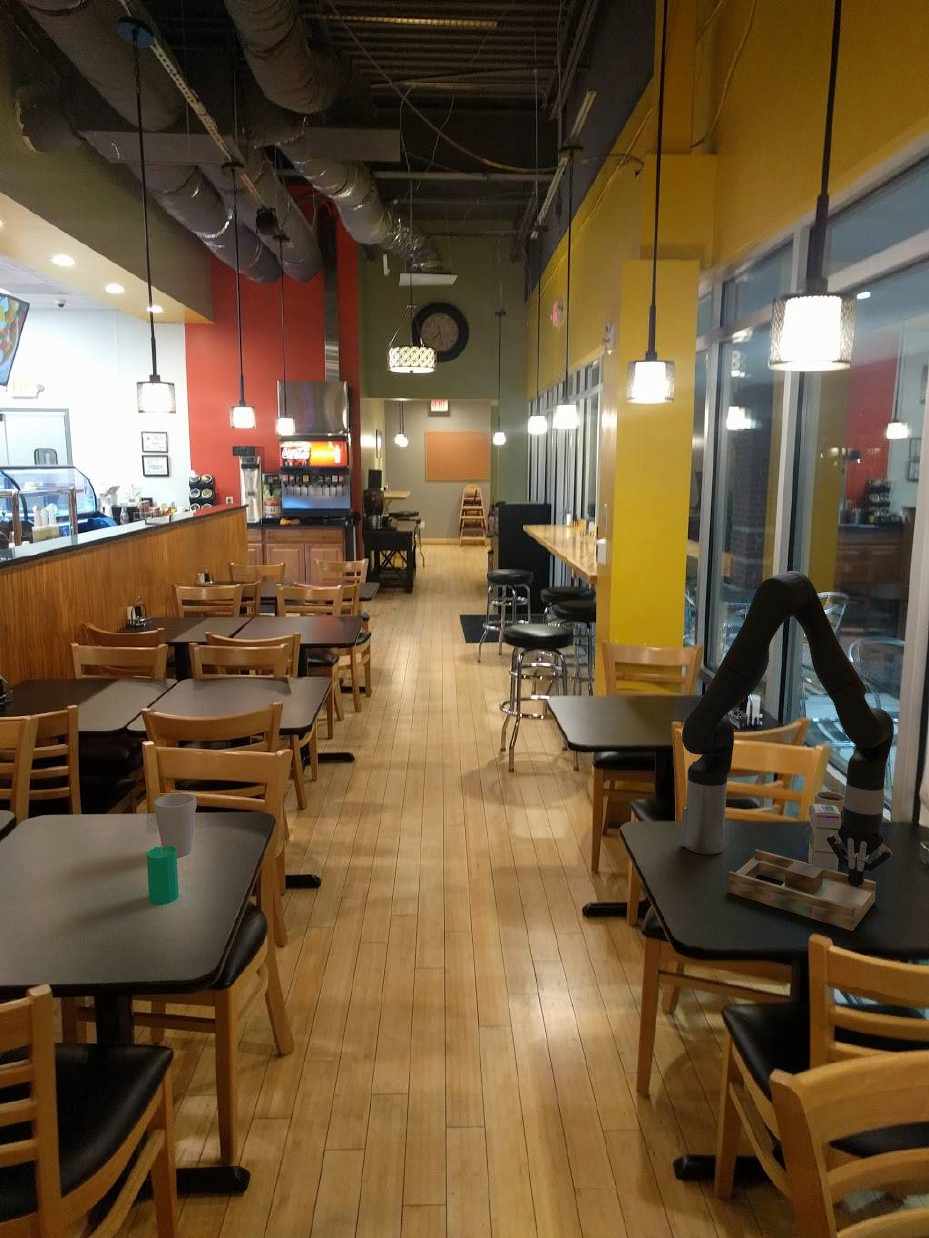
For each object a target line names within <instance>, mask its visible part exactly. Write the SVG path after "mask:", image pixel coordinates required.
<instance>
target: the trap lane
mask: <svg viewBox="0 0 929 1238" xmlns="http://www.w3.org/2000/svg"><path fill="white" fill-rule="evenodd" d="M753 853H754V855H753V857H752V858H751V859H750V860H749V861H747V862H746V863H745V864H744V865H743V866H742V867H740V868H739V869H738V870H736V872H735V871H731V870H729V871H728V877H727V889H726V890H727V891H726V893H729V894H732V895H735V896H739V897H742V898H745V899H749V900H752V901H754V902H758V903H762V904H765V905H768V906H771V907H774V908H777V909H780V910H783V911H787V912H789V913H794V914H796V915H800V916H802V917H806V918H808V919H813V920H816V921H820V922H823V923H825V924H829V925H830V926H831V925H833V926H835V927H839V928H842V929H845V930H847V931H851V932H853V931H854V930H855V929H856V927H857V926H858V924H859V923H860V922H861V920H863V918H864V916H865V915H866V914H867V913H868V911H869V910H870V909H871V907H872V906H873V905H874V903H875V902H876V901H875V900H876V892H877V891H876V890H877V881H874V880H871V879H866V878H864V882H863V884H862V885H860V886H859V887H855V886H851V883H850V882H848V873H844V872H841V871H834V870H830V869H827V868H823V867H819V866H816V865H812V864H809V862H804V861H801V860H797V859H793V858H790V857H787V856H784V855H780V854H776V853H775V854H774V853H772V852H768V851H764V850H761V849H755V850H754V852H753ZM795 861H797V862H801V863H805V864H808V865H812V866H816V867H819V868H823V869H824V870H823V883H822V885H821V886H820V887H819V888H818V889H817V890H816V892H815V893H814V894H812V893H808V892H805V891H801V890H798V889H795V888H791V887H788V886H785V873H786V869H787V868H788V867H790V866H791V865H792V864H793V863H794V862H795ZM758 876H762V877H767V878H768V879H773V880H776V881H780V882H783V883H782V884H781V885H778V884H776V883H772V882H769V881H765V880H761V879H758V878H757V877H758Z"/></svg>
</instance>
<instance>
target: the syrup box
mask: <svg viewBox="0 0 929 1238" xmlns="http://www.w3.org/2000/svg"><path fill="white" fill-rule="evenodd" d="M811 804H812V806H811V817H810V824H809V840H808V841H809V842H808V857H807V858H808V859H807V863H809V864H812V865H816V866H819V867H823V868H827V869H830V870H834V871H838V870H839V859H838V857H837V856H836V854H835V853H834V851H833V850H832V848H831V846H830V845H829V843H828V842H827V838H828V837H829V835H830V834H835V833H838V830H839V829H840V827H841V825H840V824H841V814H840V812H839V810H838V808H837V806H835V805H829V804H814V803H811ZM838 872H839V871H838Z"/></svg>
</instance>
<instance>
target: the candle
mask: <svg viewBox="0 0 929 1238" xmlns="http://www.w3.org/2000/svg"><path fill="white" fill-rule="evenodd" d="M146 864H147V865H146V867H147V881H148V882H147V883H148V899H149V900H148V901H149V903H151V904H154V905H166V904H171V903H173V902H174V901H176V900H178V898H179V878H178V877H179V875H178V858H177V851H176V848H175V847H173V846H167V847H162V844H161V843H160V846H155V847H153V848H151V849H150V850H147V851H146Z"/></svg>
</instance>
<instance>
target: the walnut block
mask: <svg viewBox="0 0 929 1238" xmlns="http://www.w3.org/2000/svg"><path fill="white" fill-rule="evenodd" d="M801 862H802V861H801ZM801 862H797V861H795V862H794V863H793V864H792V865H791V866H790V867H788V868H787V869H786V873H785V886H788V887H791V888H795V889H798V890H801V891H805V892H808V893H812V894H814V893H815V892H816V890H817V889H818V888H819V887H820V886H821V885H822V883H823V870H824V869H823V868H819V867H816V866H812V865H808V864H805V863H806V862H805V863H801Z"/></svg>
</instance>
